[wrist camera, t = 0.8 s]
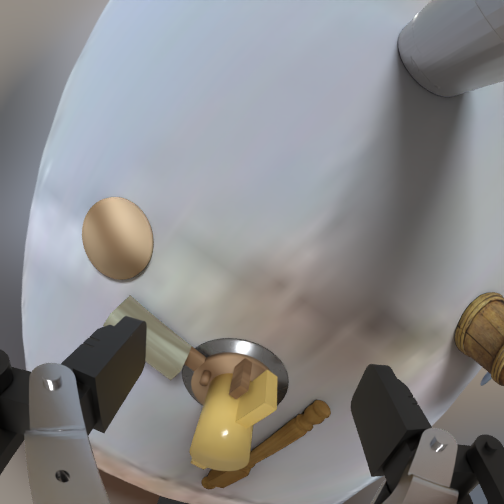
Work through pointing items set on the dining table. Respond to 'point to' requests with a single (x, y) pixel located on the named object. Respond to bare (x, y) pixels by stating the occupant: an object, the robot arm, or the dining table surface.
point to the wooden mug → (484, 334)
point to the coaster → (117, 238)
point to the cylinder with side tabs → (231, 422)
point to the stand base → (247, 349)
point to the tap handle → (272, 444)
